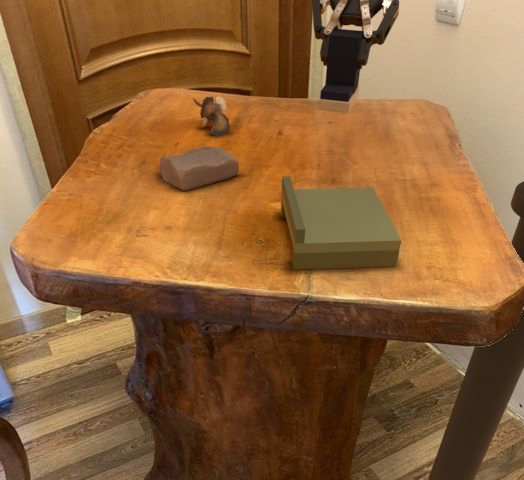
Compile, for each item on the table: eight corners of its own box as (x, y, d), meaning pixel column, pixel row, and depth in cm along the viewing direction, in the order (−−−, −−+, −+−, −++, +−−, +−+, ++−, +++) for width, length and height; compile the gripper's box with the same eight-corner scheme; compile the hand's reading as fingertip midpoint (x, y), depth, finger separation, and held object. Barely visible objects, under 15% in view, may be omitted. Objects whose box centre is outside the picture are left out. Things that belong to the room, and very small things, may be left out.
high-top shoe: (328, 93, 92) (334, 28, 86) (358, 96, 91) (366, 31, 85) (316, 109, 86) (321, 41, 80) (348, 113, 85) (356, 44, 79)
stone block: (155, 183, 97) (183, 193, 90) (151, 155, 95) (178, 162, 88) (213, 170, 103) (243, 178, 96) (210, 143, 100) (240, 149, 93)
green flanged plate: (369, 211, 87) (375, 174, 83) (396, 266, 75) (404, 226, 71) (280, 213, 86) (282, 176, 82) (293, 269, 74) (296, 229, 70)
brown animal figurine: (184, 117, 115) (192, 123, 107) (199, 84, 113) (209, 87, 105) (215, 135, 118) (226, 142, 111) (231, 103, 116) (242, 108, 109)
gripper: (317, -62, 84) (293, 45, 83) (413, -58, 81) (389, 54, 80) (321, -25, 91) (300, 74, 90) (410, -20, 88) (388, 83, 87)
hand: (342, 64), depth 85 cm, fingers closed on high-top shoe, 4 cm apart
